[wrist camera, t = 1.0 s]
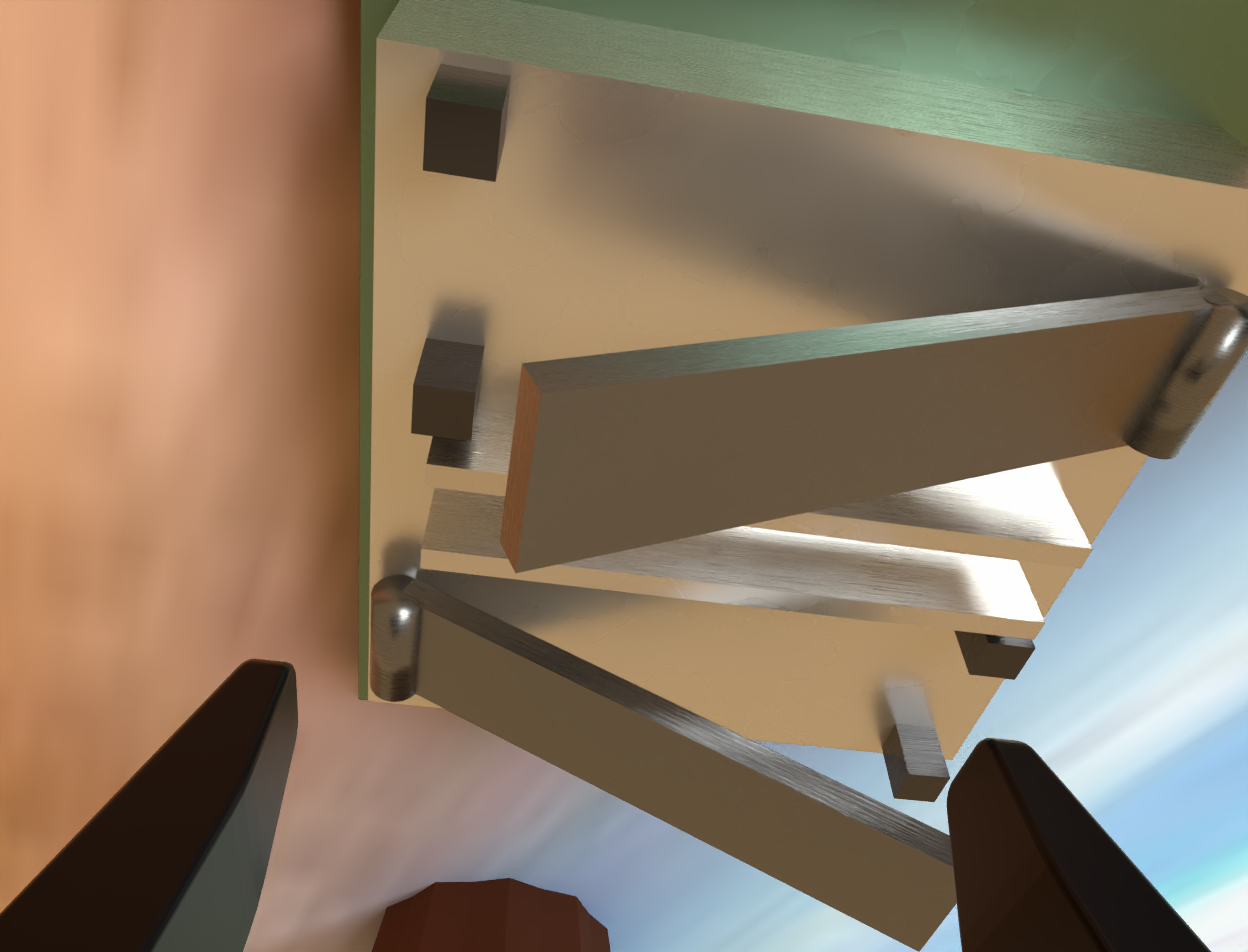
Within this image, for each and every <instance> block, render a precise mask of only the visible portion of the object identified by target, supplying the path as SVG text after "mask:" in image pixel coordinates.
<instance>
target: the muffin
mask: <svg viewBox="0 0 1248 952" xmlns="http://www.w3.org/2000/svg"><path fill="white" fill-rule="evenodd" d="M372 952H611V951H610V944H609V937H608V931H607V928H605V927H604V926H603V925H602V924H601V923H599V922H598V921H597V920H596V919H595V918H593V917H592V916H591V915H590V914H589V913H588V912H587V910H586V909H585V908H584V906H583V905H582V904H581V902H580V901H579V899H578V898H577V897H576V896H571V895H567V894H562V893H558V892H553V891H549V890H544V889H540V888H537V887H535V886H532V885H529V884H526V883H523V882H520V881H517V880H514V879H511V878H506V879H496V880H487V881H478V882H435V883H434V884H432V885H431V886H429V887H428V888H426V889H424V890H423V891H421V892H420V893H418V894H417V895H415V896H413V897H411V898H409V899H406V900H404V901H402V902H399V903H397V904H394V905H392V906H390V907H387V909H386V912H385V915H384V918H383V921H382V924H381V927H380V930H379V932H378V935H377V938H376V941H375V944H374V947H373V950H372Z"/></svg>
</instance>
